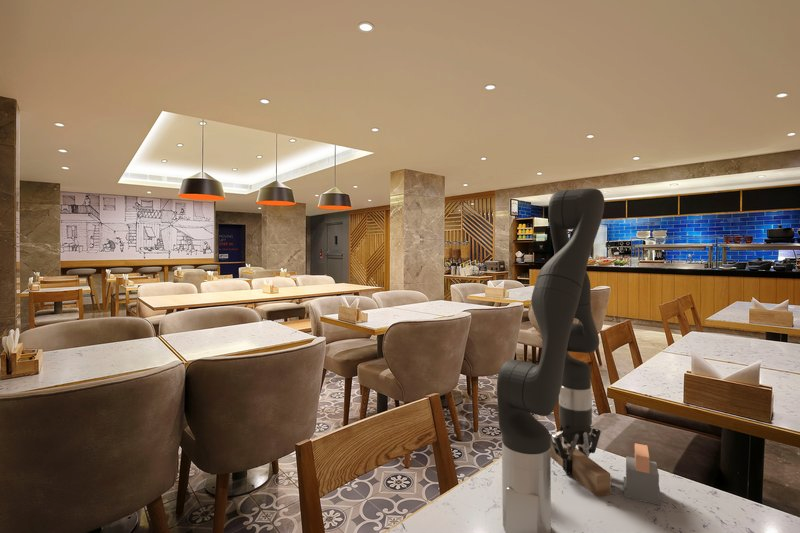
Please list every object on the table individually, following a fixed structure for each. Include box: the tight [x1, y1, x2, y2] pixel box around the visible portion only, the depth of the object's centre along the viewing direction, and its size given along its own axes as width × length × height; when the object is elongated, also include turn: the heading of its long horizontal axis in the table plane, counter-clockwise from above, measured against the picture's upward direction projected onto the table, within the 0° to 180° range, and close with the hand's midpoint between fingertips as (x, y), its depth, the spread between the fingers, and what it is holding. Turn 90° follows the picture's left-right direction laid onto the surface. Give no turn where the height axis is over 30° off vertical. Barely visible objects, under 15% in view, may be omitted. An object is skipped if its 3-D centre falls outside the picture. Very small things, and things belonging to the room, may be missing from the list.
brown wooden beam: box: [551, 437, 611, 498], centre depth 99 cm, size 20×4×5 cm, turn 12°
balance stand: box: [623, 442, 663, 506], centre depth 90 cm, size 6×7×10 cm
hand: (575, 470), depth 99 cm, fingers closed on brown wooden beam, 3 cm apart
